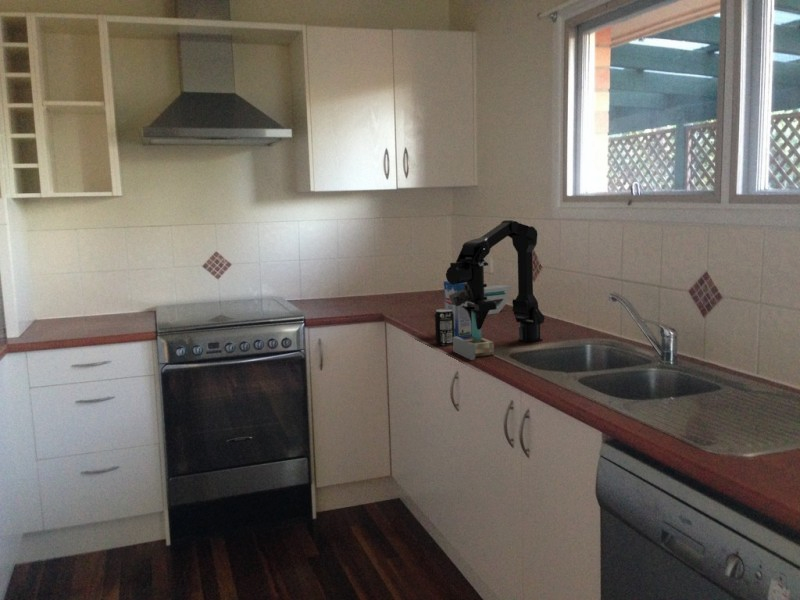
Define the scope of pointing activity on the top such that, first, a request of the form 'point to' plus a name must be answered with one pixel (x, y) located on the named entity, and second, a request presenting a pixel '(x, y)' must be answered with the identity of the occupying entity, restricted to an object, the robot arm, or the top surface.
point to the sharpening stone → (497, 296)
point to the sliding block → (483, 347)
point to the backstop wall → (464, 348)
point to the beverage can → (444, 326)
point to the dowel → (475, 330)
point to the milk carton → (457, 311)
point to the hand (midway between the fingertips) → (476, 328)
